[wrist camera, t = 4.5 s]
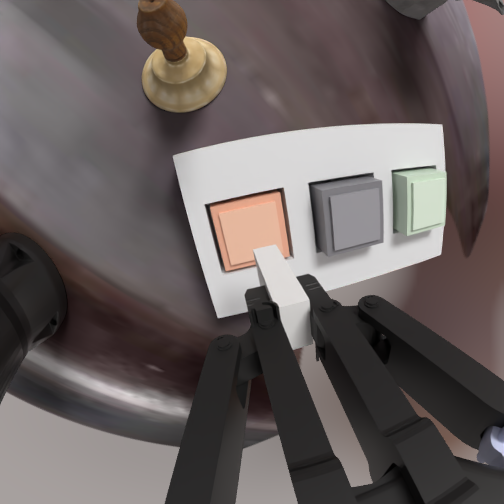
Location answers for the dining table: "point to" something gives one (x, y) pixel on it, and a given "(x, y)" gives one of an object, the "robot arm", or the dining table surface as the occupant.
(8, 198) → the dining table surface
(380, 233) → the charcoal key
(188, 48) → the hand bell
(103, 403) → the dining table surface
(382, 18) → the dining table surface
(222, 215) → the terracotta key
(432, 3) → the coffeepot
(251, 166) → the white button panel
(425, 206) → the sage key
